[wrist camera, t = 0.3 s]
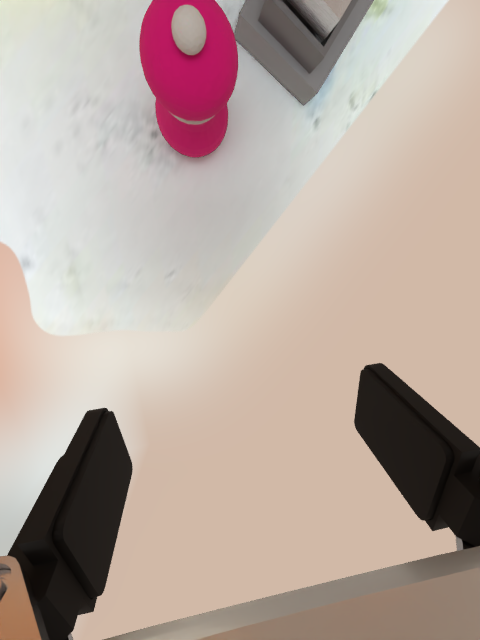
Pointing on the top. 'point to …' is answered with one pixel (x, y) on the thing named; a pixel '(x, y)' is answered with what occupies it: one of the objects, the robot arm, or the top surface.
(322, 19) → the grey button
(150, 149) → the top surface
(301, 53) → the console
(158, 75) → the pepper mill
